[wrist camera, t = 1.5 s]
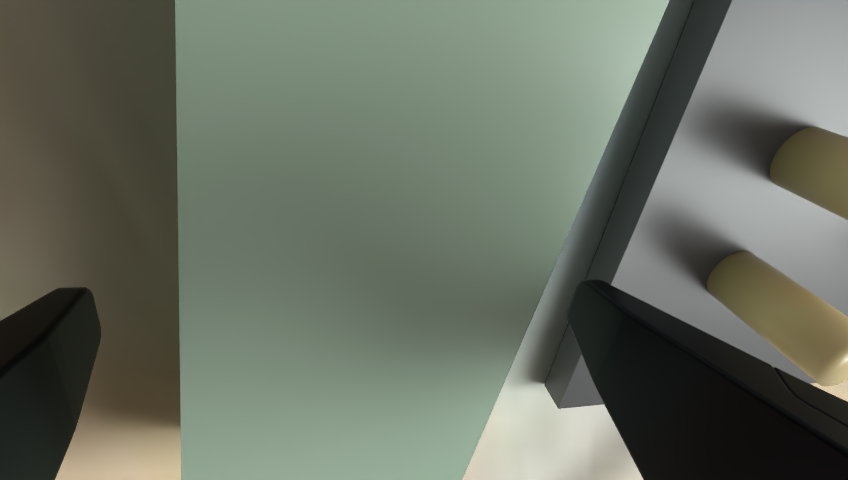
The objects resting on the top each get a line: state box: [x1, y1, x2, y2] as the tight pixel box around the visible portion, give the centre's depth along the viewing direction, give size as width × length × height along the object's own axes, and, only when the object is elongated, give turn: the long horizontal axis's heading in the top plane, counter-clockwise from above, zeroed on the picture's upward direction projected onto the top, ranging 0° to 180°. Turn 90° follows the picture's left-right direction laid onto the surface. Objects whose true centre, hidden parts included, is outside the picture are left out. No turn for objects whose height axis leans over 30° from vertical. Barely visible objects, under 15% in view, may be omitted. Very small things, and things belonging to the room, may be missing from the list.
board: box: [175, 0, 670, 480], centre depth 10 cm, size 14×6×4 cm, turn 166°
